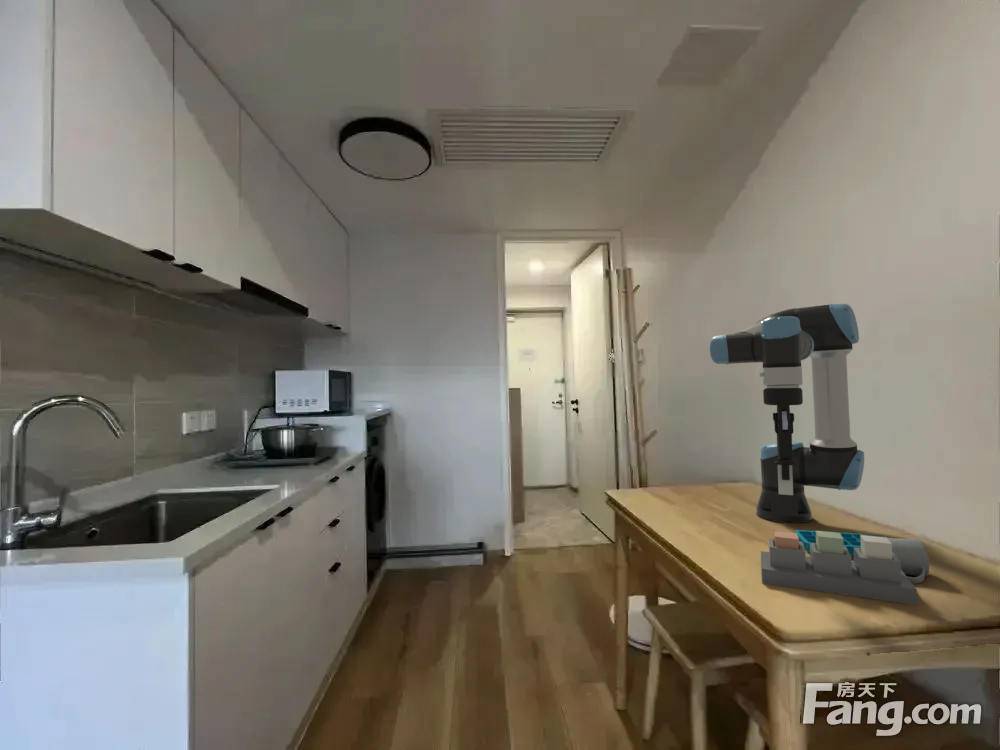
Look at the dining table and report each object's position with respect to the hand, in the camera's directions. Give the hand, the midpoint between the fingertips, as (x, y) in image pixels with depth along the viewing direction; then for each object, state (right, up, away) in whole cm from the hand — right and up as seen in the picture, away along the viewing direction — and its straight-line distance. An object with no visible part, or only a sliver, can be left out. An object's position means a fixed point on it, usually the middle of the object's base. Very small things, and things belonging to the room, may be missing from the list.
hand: (785, 493), depth 108 cm
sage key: (+7, -12, -4) cm, 15 cm away
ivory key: (+14, -12, -7) cm, 20 cm away
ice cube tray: (+24, -18, +16) cm, 34 cm away
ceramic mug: (+26, -18, -1) cm, 31 cm away
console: (+7, -18, -4) cm, 20 cm away
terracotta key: (0, -14, 0) cm, 14 cm away
